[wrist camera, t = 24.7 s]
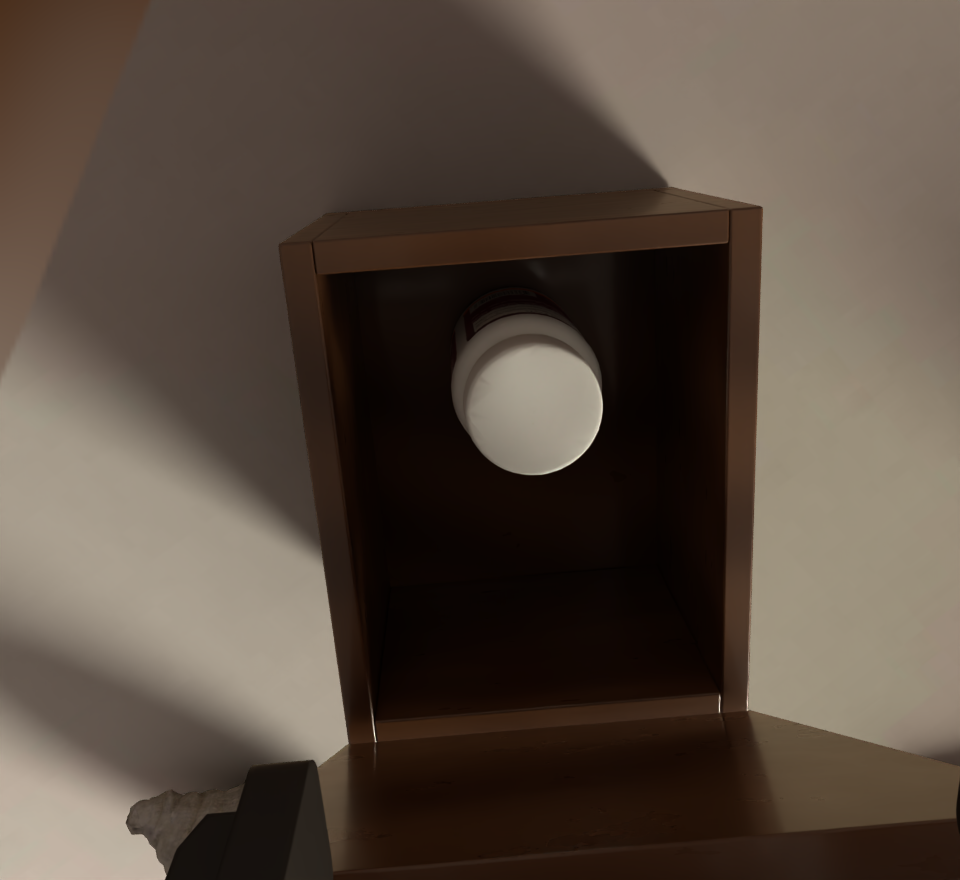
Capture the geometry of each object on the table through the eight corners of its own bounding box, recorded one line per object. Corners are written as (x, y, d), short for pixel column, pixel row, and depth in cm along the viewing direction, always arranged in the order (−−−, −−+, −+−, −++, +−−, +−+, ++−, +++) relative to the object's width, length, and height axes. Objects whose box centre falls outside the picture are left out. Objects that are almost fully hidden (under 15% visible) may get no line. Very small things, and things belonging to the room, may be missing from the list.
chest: (324, 213, 33) (277, 243, 23) (672, 186, 33) (764, 206, 24) (372, 597, 38) (349, 748, 28) (673, 572, 38) (748, 714, 29)
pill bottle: (538, 428, 35) (566, 514, 27) (428, 374, 34) (423, 446, 26) (599, 320, 33) (647, 377, 26) (486, 261, 33) (500, 301, 25)
